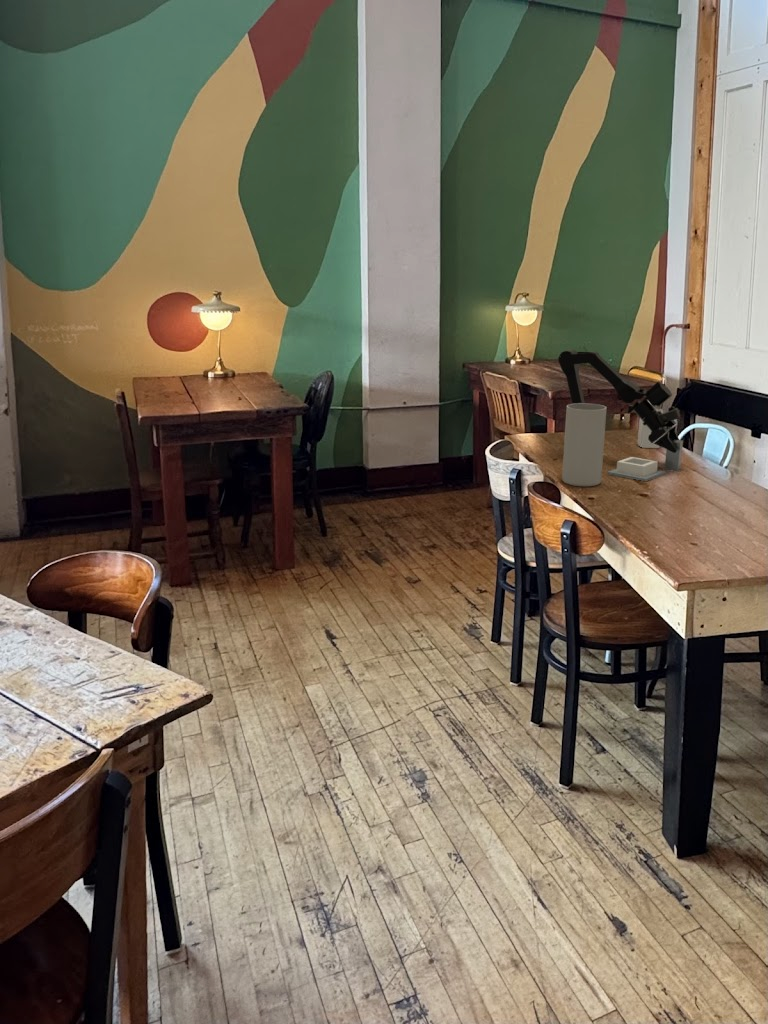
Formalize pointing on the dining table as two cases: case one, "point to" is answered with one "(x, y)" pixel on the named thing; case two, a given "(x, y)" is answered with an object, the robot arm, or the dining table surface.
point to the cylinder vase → (584, 444)
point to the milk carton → (646, 433)
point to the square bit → (674, 456)
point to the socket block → (637, 469)
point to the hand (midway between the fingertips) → (678, 449)
